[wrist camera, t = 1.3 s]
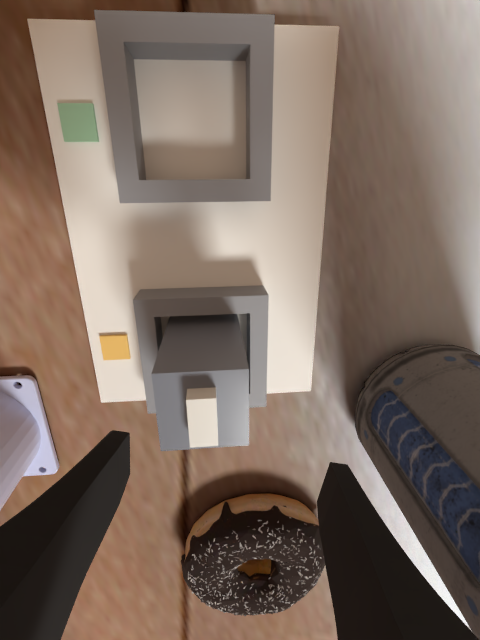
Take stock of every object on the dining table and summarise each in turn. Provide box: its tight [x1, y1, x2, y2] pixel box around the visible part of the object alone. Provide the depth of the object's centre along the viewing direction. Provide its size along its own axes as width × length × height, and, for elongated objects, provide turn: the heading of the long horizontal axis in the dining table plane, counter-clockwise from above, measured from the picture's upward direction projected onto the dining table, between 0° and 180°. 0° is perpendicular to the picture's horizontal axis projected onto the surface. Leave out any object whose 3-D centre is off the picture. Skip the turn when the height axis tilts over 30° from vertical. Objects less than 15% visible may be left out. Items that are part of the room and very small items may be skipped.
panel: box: [27, 10, 339, 413], centre depth 18 cm, size 14×20×3 cm
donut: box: [181, 493, 325, 616], centre depth 27 cm, size 11×12×4 cm
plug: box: [151, 314, 249, 451], centre depth 17 cm, size 4×4×8 cm
